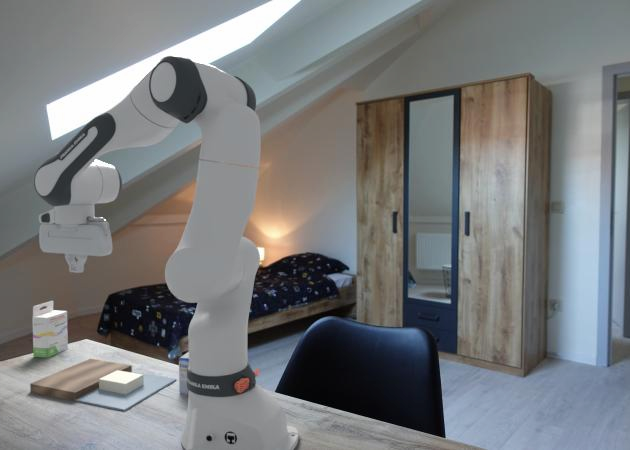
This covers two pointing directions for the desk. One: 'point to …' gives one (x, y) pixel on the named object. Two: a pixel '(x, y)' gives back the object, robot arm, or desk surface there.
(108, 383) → the tile
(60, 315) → the ink box
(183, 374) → the medicine box
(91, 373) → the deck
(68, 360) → the desk surface
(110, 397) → the mat
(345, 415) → the desk surface
